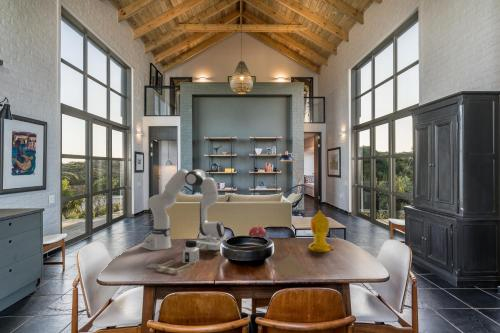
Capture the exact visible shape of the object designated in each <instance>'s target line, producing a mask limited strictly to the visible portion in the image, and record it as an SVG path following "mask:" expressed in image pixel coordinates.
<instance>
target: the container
mask: <svg viewBox="0 0 500 333" xmlns="http://www.w3.org/2000/svg"><path fill="white" fill-rule="evenodd" d="M199 260H200V249H199V248H196V240H194V239H189V240H186V241H185V249H183V250H182V263H183V264H189V263H191V265H192V264H193V265H194V264H196V263H197V262H199Z"/></svg>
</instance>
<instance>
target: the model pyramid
mask: <svg viewBox="0 0 500 333" xmlns="http://www.w3.org/2000/svg"><path fill="white" fill-rule="evenodd" d="M271 269H272V270H274V271H275V272H277V273H278V274H279V275H281V276H282V277H284V278H290V277H291V278H292V277H297V276H303V275H304V276H305V275H309V274H310V275H311V272H310V270H308V269H307V268H306V267H305V266H304V265H303V264H302V263H301V262H299V260H298V259H297V258H296V257H294V256H293V254H292V253H290V254H288V255H287V256H286V257H285V258H283V259H282V260H280V261H279V262H278V263H276V264H275V265H274V266H273V267H272V268H271Z"/></svg>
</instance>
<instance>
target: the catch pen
mask: <svg viewBox="0 0 500 333" xmlns="http://www.w3.org/2000/svg"><path fill="white" fill-rule="evenodd" d="M160 264H161V263H160ZM174 264H175V263H174V259H171V260H169V261H167V262H164V263H162V264H161V265H159V266H157V269H156V271H157V272H161V273H166V274H170V275H179V274H181V273H183V272H185V271H188V270H189V269H191V268H192V264H191V263H186V264H185V265H182V266H180V267H179V268H172V267H171V266H173V265H174Z"/></svg>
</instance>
